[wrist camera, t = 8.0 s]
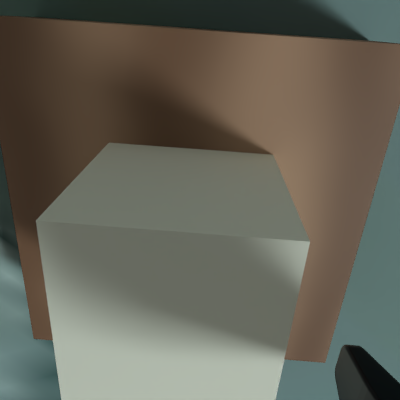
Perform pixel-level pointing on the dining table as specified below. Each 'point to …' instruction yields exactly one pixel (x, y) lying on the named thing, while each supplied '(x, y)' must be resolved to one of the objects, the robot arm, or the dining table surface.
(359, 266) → the dining table surface
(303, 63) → the walnut block
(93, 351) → the sage cube
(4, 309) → the dining table surface
